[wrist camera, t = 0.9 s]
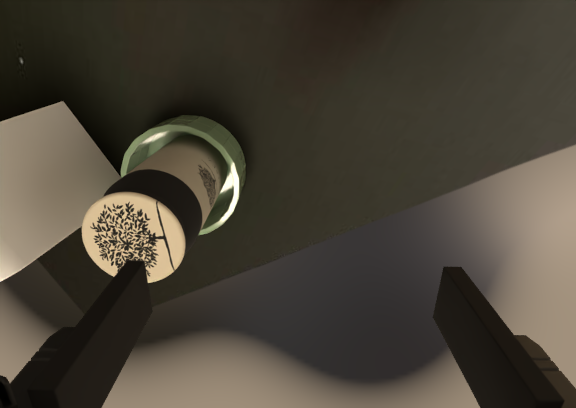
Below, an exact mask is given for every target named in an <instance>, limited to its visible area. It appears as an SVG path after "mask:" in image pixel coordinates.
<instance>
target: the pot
mask: <svg viewBox="0 0 576 408" xmlns="http://www.w3.org/2000/svg"><path fill="white" fill-rule="evenodd" d="M185 135H195V136H199V137H201V138H204V139H205V140H206V141H208V142H209V143H210V144H212V145H213V146H214V147H215V148H217V149H218V150H219V151H220V153H221V154H222V156H223V157H224V158H225V161H226V165H227V177H226V181H225V184H224V186H223V188H222V190H221V191H220V193H219V195H218V197H217V199H216V201H215V203H214V205H213V207H212V209H211V211H210V213H209V215H208V217H207V219H206V221H205V223H204V225H203V227H202V229H201V231H200V233H199V235H202V234H207V233H209V232H211V231H213V230H214V229H216V228H218V227H220V226H221V225H223V224H224V223H225V221H226V220H227V219H228V218H229V217H230V216H231V214H232V213H233V212H234V209H235V206H236V204H237V201H238V199H239V196H240V193H241V190H242V188H243V185H244V182H245V175H246V163H245V158H244V155H243V152H242V150H241V147H240V145H239V144H238V142H237V140H236V139H235V138H234V137H233V135H232V134H231V133H230V132H229V131H228V130H227V129H225V128H224V127H223V126H222V125H220V124H218V123H217V122H215V121H213V120H210V119H208V118H205V117H201V116H195V115H182V116H178V117H174V118H170V119H167V120H165V121H163V122H162V123H160V124H158V125H156V126H154V127H153V128H151V129H149V130H148V131H146V132H145V133H143V134H142V135H140V136H139V137H137V138H136V139H135V140H134V141H133V142H132V144H131V145H130V147H129V148H128V150H127V151H126V153H125V154H124V158H123V162H122V166H121V178H122V177H123V176H125V175H126V174H127V173H129V172H130V171H131V170H133V169H134V168H135V167H137V166H138V165H139V164H141V163H142V162H143V161H145V160H146V159H147V158H149V157H150V156H151V155H153V154H154V153H155V152H157V151H158V150H159V149H161V148H162V147H163V146H165V145H166V144H167V143H169V142H170V141H172V140H173V139H175V138H177V137H180V136H185Z"/></svg>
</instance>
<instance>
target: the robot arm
mask: <svg viewBox="0 0 576 408" xmlns="http://www.w3.org/2000/svg"><path fill="white" fill-rule="evenodd" d="M151 313H152V305H151V299H150V293H149V286H148V280H147V274H146V267H145V261H129V260H127V261H126V262H125V264H124V265H123V266H122V268H121V269H120V270H119V271H118V273H117V274H116V275H115V277H114V278H113V279H112V280H111V282H110V283H109V284H108V286H107V287H106V288H105V289H104V291H103V292H102V293H101V295H100V296H99V297H98V298H97V300H96V301H95V302H94V304H93V305H92V306H91V307H90V309H89V310H88V311H87V313H86V314H85V315H84V316H83V318H82V319H81V320H80V322H79V323H78V324H77V325H76V327H63V328H61V329H60V330H59V331H57V332H56V333H54V334H53V335H52V336H50V337H49V338H48V339H47V340H46V342H45V343H44V344H43V345H42V346H41V348H40V349H39V351H37V352H36V353H35V355H34V356H33V357H32V358H31V361H29V362H28V363H27V364H26V365H25V366H24V368H23V369H22V370H21V371H20V372H19V374H18V375H17V376H16V377H15V378H14V380H13V381H12V382H11V383H9V381H8V380H7V378H6V377H3V376H0V408H101V407H102V405H103V403H104V402H105V400H106V398H107V396H108V394H109V392H110V391H111V389H112V387H113V385H114V383H115V381H116V379H117V377H118V375H119V373H120V372H121V370H122V368H123V366H124V364H125V362H126V360H127V358H128V357H129V355H130V353H131V351H132V349H133V347H134V345H135V343H136V342H137V340H138V338H139V336H140V334H141V332H142V330H143V328H144V326H145V325H146V322H147V321H148V319H149V317H150V315H151ZM433 318H434V320H435V322H436V324H437V326H438V328H439V329H440V331H441V333H442V335H443V337H444V339H445V341H446V343H447V345H448V347H449V348H450V350H451V352H452V354H453V356H454V358H455V360H456V362H457V364H458V366H459V368H460V369H461V371H462V373H463V375H464V377H465V379H466V381H467V383H468V384H469V386H470V388H471V390H472V392H473V394H474V396H475V398H476V400H477V402H478V404H479V406H480V408H576V389H575V387H574V386H573V385H572V384H571V383H570V381H569V380H568V379H567V378H566V377H565V376H564V374H563V373H562V372H561V371H559V368H558V367H557V366H556V365H555V363H554V362H553V361H551V360H550V357H548V355H547V354H546V353H545V352H544V350H543V349H542V348H541V347H540V346H539V345H538V344H537V343H535V342H534V341H532V340H531V339H530V338H528V337H527V336H524V335H513V333H512V332H511V331H510V329H509V328H508V327H507V326H506V324H505V323H504V322H503V320H502V319H501V318H500V317H499V315H498V314H497V313H496V311H495V310H494V309H493V307H492V306H491V305H490V304H489V302H488V301H487V300H486V298H485V297H484V296H483V295H482V293H481V292H480V291H479V289H478V288H477V287H476V286H475V284H474V283H473V282H472V281H471V279H470V278H469V276H468V275H467V274H466V273H465V271H464V270H463V269H462V267H444V268H443V272H442V277H441V282H440V287H439V291H438V296H437V301H436V305H435V310H434V315H433Z"/></svg>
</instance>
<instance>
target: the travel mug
mask: <svg viewBox="0 0 576 408" xmlns="http://www.w3.org/2000/svg"><path fill="white" fill-rule="evenodd" d="M226 177H227V165H226V161H225V158H224V157H223V156H222V154H221V153H220V151H219V150H218V149H217V148H215V147H214V146H213V145H212V144H210V143H209V142H208V141H206V140H205V139H204V138H201V137H199V136H195V135H185V136H180V137H177V138H175V139H173V140H172V141H170V142H169V143H167V144H166V145H165V146H163V147H162V148H161V149H159V150H158V151H157V152H155V153H154V154H153V155H151V156H150V157H149V158H147V159H146V160H145V161H143V162H142V163H141V164H139V165H138V166H137V167H135V168H134V169H133V170H131V171H130V172H129V173H127V174H126V175H125V176H123V177H122V178H121V179H119V180H118V181H117V182H115V183H114V184H113V185H112V186H110V187H109V189H108V190H107V191H106V192H105V194H104V196H103V197H102V198H100V199H99V200H97V201H96V202H95V203H94V204H93V205H92V206H91V207H90V208H89V209H88V211H87V213H86V214H85V217H84V219H83V223H82V238H83V242H84V245H85V248H86V250H87V252H88V254H89V255H90V257H91V258H92V259H93V261H94V262H95V263H96V264H97V265H98V266H99V267H100V268H101V269H103V270H104V271H105V272H107V273H108V274H110V275H112V276H114V277H115V275H116V274H117V273H118V271H119V270H120V269H121V268H122V266H123V265H124V264H125V262H126V261H127V260H129V261H145V267H146V274H147V280H148V283H150V282H155V281H158V280H161V279H163V278H165V277H167V276H169V275H170V274H171V273H172V272H174V271H175V270H176V268H177V267H178V266H179V265H180V263H181V261H182V259H183V256H184V255H185V254H186V253H187V252H188V251H189V250H190V249H191V248H192V246H193V244H194V243H195V241H196V239H197V237H198V235H199V233H200V231H201V229H202V227H203V225H204V223H205V221H206V219H207V217H208V215H209V213H210V211H211V209H212V207H213V205H214V203H215V201H216V199H217V197H218V195H219V193H220V191H221V190H222V188H223V186H224V184H225V181H226Z"/></svg>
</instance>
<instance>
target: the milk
mask: <svg viewBox="0 0 576 408" xmlns="http://www.w3.org/2000/svg"><path fill="white" fill-rule="evenodd" d="M119 179H121V177H120V175H119V174H118V173H117V171H116V170H115V169H114V167H113V166H112V165H111V164H110V162H109V161H108V160H107V158H106V157H105V156H104V154H103V153H102V152H101V150H100V149H99V148H98V146H97V145H96V144H95V142H94V141H93V140H92V138H91V137H90V136H89V134H88V133H87V132H86V131H85V129H84V128H83V127H82V125H81V124H80V123H79V121H78V120H77V119H76V117H75V116H74V115H73V113H72V112H71V111H70V109H69V108H68V107H67V105H66V104H65V103H64V101H62V102H59V103H56V104H53V105H49V106H46V107H43V108H40V109H37V110H34V111H31V112H28V113H25V114H22V115H19V116H16V117H13V118H10V119H7V120H4V121H1V122H0V282H1V281H3V280H4V279H6V278H8V277H10V276H11V275H13V274H15V273H17V272H18V271H20V270H21V269H23V268H24V267H26V266H27V265H29V264H30V263H32V262H33V261H34V260H36V259H37V258H38V257H40V256H41V255H43V254H44V253H45V252H47V251H48V250H49V249H51V248H52V247H53V246H55V245H56V244H58V243H59V242H60V241H62V240H63V239H64V238H66V237H67V236H68V235H70V234H71V233H73V232H74V231H75V230H77V229H78V228H79V227H81V226H82V223H83V219H84V217H85V214H86V213H87V211H88V209H89V208H90V207H91V206H92V205H93V204H94V203H95V202H96V201H97V200H99V199H100V198H102V197H103V196H104V194H105V192H106V191H107V190H108V189H109V187H110V186H112V185H113V184H114V183H115V182H117V181H118V180H119Z"/></svg>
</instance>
